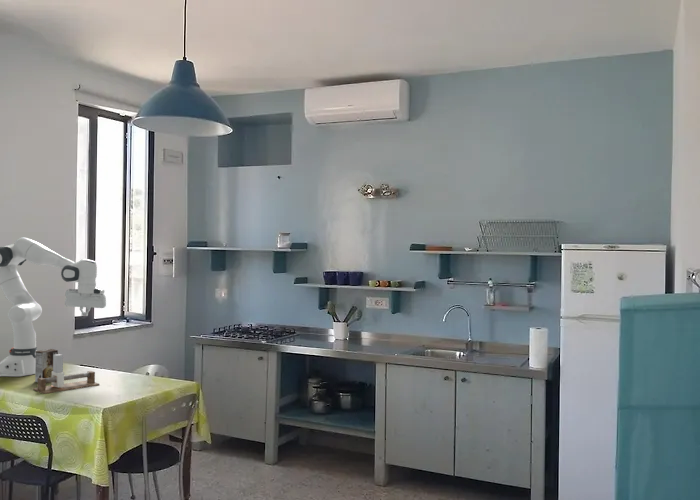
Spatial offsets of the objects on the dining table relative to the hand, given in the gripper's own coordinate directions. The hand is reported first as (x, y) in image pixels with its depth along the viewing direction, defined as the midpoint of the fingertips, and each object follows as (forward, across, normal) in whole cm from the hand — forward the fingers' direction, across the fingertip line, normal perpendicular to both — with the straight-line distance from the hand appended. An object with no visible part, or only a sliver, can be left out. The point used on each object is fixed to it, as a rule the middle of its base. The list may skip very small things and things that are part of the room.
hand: (84, 315), depth 341 cm
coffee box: (+35, -16, -2) cm, 39 cm away
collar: (+33, -6, -21) cm, 40 cm away
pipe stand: (+34, -2, -18) cm, 39 cm away
